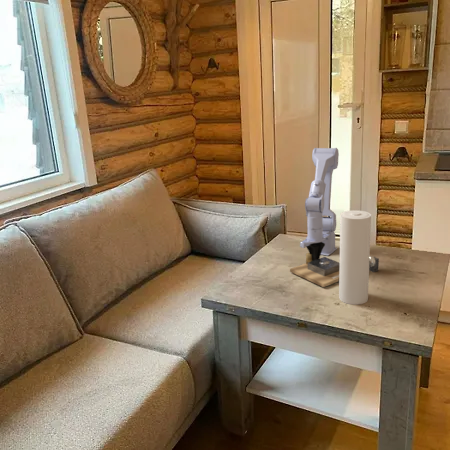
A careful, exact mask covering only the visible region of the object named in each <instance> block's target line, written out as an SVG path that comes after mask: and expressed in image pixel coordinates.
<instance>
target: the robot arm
mask: <svg viewBox="0 0 450 450" xmlns="http://www.w3.org/2000/svg"><path fill="white" fill-rule="evenodd" d="M311 156H312V157H311V159H312V162H313V165H314V167H315V174H314V180H312V182H311V183H310V188H309V192H308V193H309V194H308V197H306V198H305V202H304V209H305V216H306V217H307V218H306V219H307V223H306V224H307V226H306V227H307V228H306V229H307V236H306V238H305V239H304V240H302V241H300V242H299V247H300V248H302V249H305V248H306V249H307V250H308V253H310V254H312V261H314V260H317V259H320V258H321V255H322V256H325V257H326V256H327V257H328V256H330V255H331V254H333V253H334V252H335V251H336V250H338V247H336V229H337V214H336V212H334V211H333V210H332V209H331V197H332V196H331V195H332V194H331V193H332V182H333V181H332V179H333V172H334V170H336V169H338V166H339V156H340V155H339V149H338V148H337V147H329V148H328V147H314V148H313V149H312V155H311Z"/></svg>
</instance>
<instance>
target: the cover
mask: <svg viewBox="0 0 450 450" xmlns="http://www.w3.org/2000/svg"><path fill="white" fill-rule="evenodd" d="M308 269H309V270H311V271H313V272H316V273H318V274H320V275H322V276H327V275H330V274H332V273H335V272H338V271H339V269H340V261H337V260H333V259H331V258H328V257H326V256H323V257H320V258H319V259H317V260H314V261H311V262H308Z"/></svg>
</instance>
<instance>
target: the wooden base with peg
mask: <svg viewBox="0 0 450 450" xmlns="http://www.w3.org/2000/svg"><path fill="white" fill-rule="evenodd" d="M311 261H312V254H310V253H309V252H307V253H305V263H302V264H301V265H297V266H294V267H292V268H289V272H290V273H292V274H294V275H295V276H296V275H297V276H298V277H300V278H303V279H305V280H307V281H309V282H311V283H314V284H316V285H318V286H321V287H322V288H326V287H328V286H331V285H333V284H336V283H339V271H338V272H335V273H332V274H330V275H327V276H322V275H320V274H318V273H316V272H313V271H311V270H309V269H308V262H311Z"/></svg>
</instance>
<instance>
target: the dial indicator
mask: <svg viewBox="0 0 450 450" xmlns="http://www.w3.org/2000/svg"><path fill="white" fill-rule="evenodd" d="M379 263H380V259H379V258H378V257H376V256H373V255H370V257H369V272H372V273H375V272H378V271H379V267H380V266H379V265H380V264H379Z"/></svg>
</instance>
